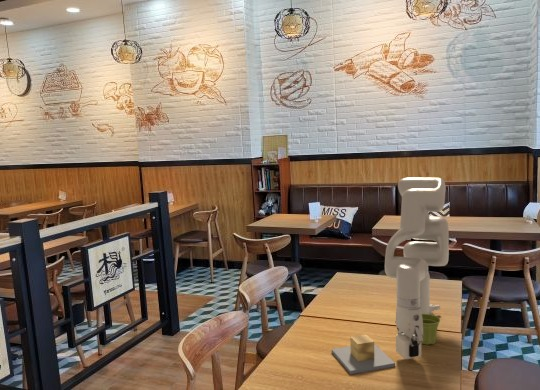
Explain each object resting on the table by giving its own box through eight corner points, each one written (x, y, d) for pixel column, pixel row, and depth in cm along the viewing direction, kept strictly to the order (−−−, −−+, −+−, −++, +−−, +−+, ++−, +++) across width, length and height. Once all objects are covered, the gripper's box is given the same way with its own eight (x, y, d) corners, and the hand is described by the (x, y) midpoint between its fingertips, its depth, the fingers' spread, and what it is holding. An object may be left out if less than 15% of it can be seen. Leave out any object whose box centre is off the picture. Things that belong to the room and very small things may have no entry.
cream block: (411, 348, 161) (411, 331, 160) (421, 356, 155) (421, 339, 154) (396, 351, 159) (395, 334, 158) (405, 359, 153) (405, 342, 152)
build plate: (372, 345, 169) (372, 342, 168) (395, 366, 153) (395, 363, 153) (331, 352, 165) (331, 349, 165) (350, 374, 149) (350, 370, 149)
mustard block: (366, 350, 162) (366, 334, 162) (374, 358, 157) (374, 341, 156) (350, 353, 161) (350, 336, 160) (358, 361, 155) (357, 344, 154)
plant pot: (409, 343, 169) (409, 320, 168) (417, 333, 177) (417, 312, 176) (436, 349, 164) (436, 325, 163) (442, 339, 172) (443, 316, 171)
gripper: (433, 309, 147) (433, 362, 149) (404, 290, 163) (404, 338, 166) (412, 312, 145) (412, 366, 148) (385, 293, 161) (385, 342, 164)
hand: (408, 351), depth 157 cm, fingers closed on cream block, 6 cm apart
